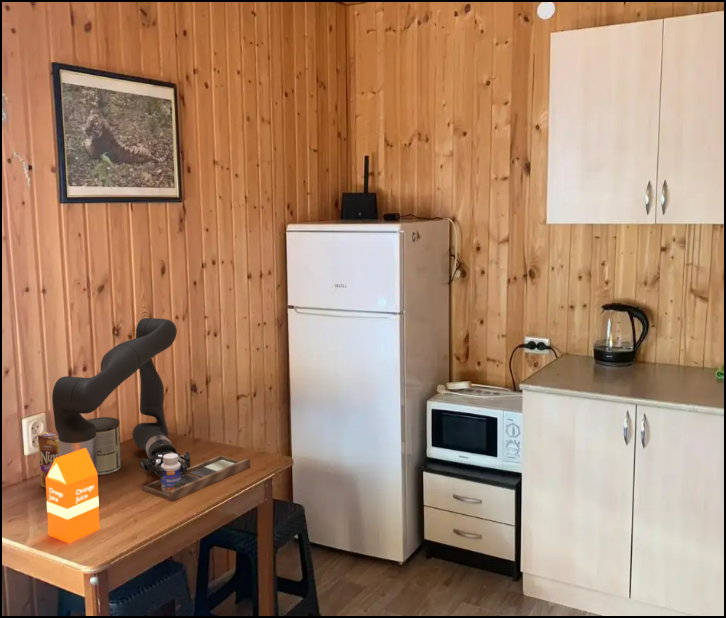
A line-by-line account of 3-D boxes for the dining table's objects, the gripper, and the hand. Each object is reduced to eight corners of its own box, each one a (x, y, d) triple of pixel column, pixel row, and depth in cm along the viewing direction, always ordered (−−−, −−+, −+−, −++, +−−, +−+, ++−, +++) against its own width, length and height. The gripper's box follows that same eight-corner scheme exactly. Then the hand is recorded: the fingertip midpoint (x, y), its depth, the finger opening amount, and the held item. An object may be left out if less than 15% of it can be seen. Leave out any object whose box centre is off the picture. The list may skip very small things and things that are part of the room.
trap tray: (172, 501, 195) (172, 492, 194) (142, 490, 201) (142, 481, 201) (249, 466, 219) (249, 459, 219) (221, 458, 226) (220, 450, 225)
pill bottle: (166, 495, 198) (165, 461, 197) (157, 488, 202) (156, 455, 201) (185, 490, 202) (184, 456, 200) (175, 483, 206) (175, 450, 204)
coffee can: (78, 467, 216) (76, 421, 214) (112, 459, 223) (110, 414, 221) (92, 478, 209) (90, 430, 206) (127, 469, 215) (125, 423, 213)
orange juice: (48, 535, 175) (43, 455, 171) (79, 521, 182) (75, 444, 179) (69, 543, 171) (65, 462, 167) (100, 529, 178) (97, 450, 175)
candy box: (39, 487, 202) (36, 434, 199) (53, 482, 205) (50, 429, 203) (61, 494, 197) (58, 440, 195) (74, 489, 201) (72, 435, 198)
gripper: (134, 442, 210) (145, 462, 195) (185, 435, 216) (199, 455, 201) (135, 467, 211) (146, 489, 196) (185, 460, 217) (199, 481, 202)
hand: (172, 471), depth 199 cm, fingers closed on pill bottle, 5 cm apart
